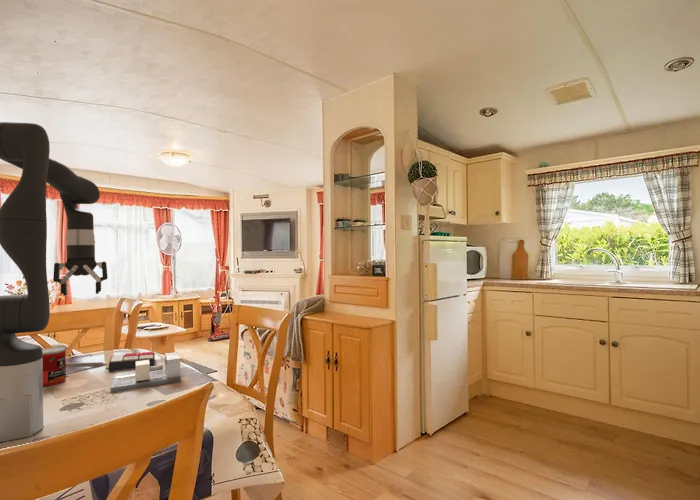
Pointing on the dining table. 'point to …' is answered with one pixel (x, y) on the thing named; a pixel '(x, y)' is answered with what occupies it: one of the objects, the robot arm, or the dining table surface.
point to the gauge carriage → (145, 370)
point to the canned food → (54, 365)
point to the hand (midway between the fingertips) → (81, 294)
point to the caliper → (85, 364)
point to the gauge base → (151, 376)
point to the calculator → (129, 360)
